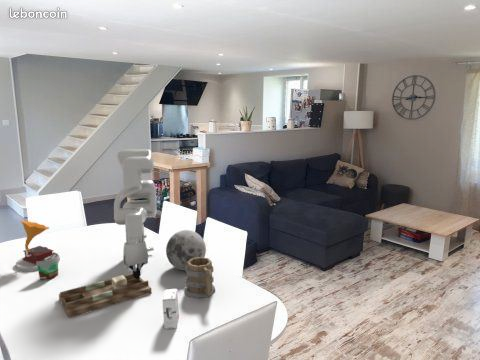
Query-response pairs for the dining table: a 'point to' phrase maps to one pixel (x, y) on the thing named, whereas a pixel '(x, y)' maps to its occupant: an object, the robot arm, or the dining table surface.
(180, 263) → the moon model
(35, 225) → the gramophone
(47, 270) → the food container
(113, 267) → the dining table surface
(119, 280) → the block
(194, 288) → the tankard
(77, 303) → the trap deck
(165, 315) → the ink box
